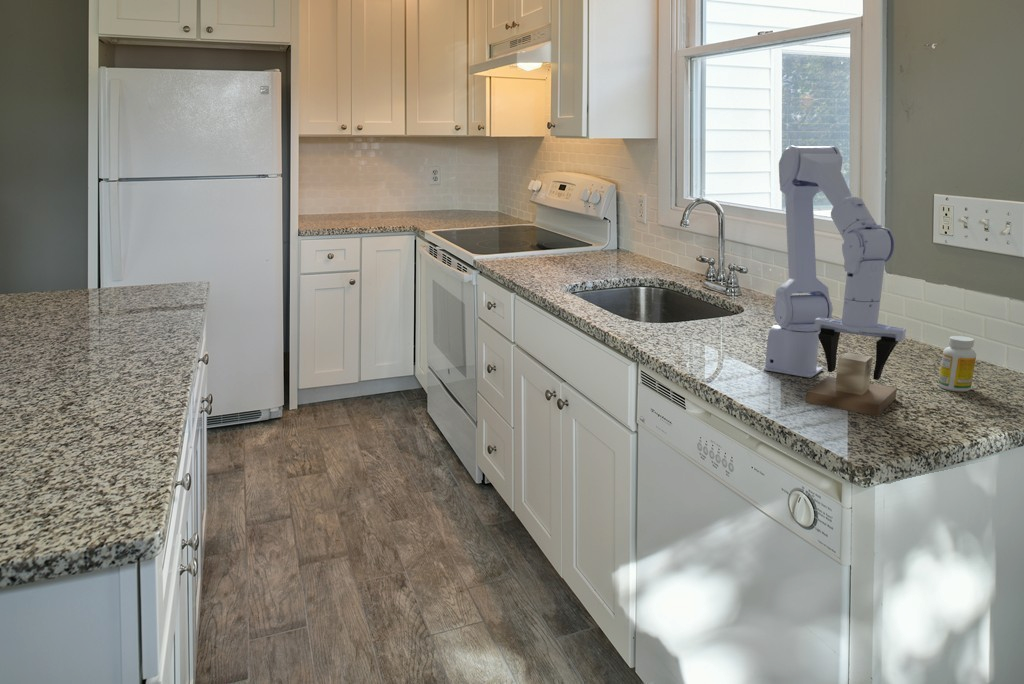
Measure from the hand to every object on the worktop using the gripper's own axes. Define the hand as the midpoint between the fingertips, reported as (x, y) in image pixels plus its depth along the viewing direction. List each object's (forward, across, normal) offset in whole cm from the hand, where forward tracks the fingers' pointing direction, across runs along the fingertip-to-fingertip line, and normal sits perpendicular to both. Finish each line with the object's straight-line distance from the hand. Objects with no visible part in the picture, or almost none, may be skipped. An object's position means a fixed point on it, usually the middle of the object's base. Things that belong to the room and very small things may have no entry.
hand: (853, 374), depth 137 cm
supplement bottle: (+5, +13, +20) cm, 24 cm away
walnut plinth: (+5, 0, 0) cm, 5 cm away
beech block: (+3, 0, 0) cm, 3 cm away
